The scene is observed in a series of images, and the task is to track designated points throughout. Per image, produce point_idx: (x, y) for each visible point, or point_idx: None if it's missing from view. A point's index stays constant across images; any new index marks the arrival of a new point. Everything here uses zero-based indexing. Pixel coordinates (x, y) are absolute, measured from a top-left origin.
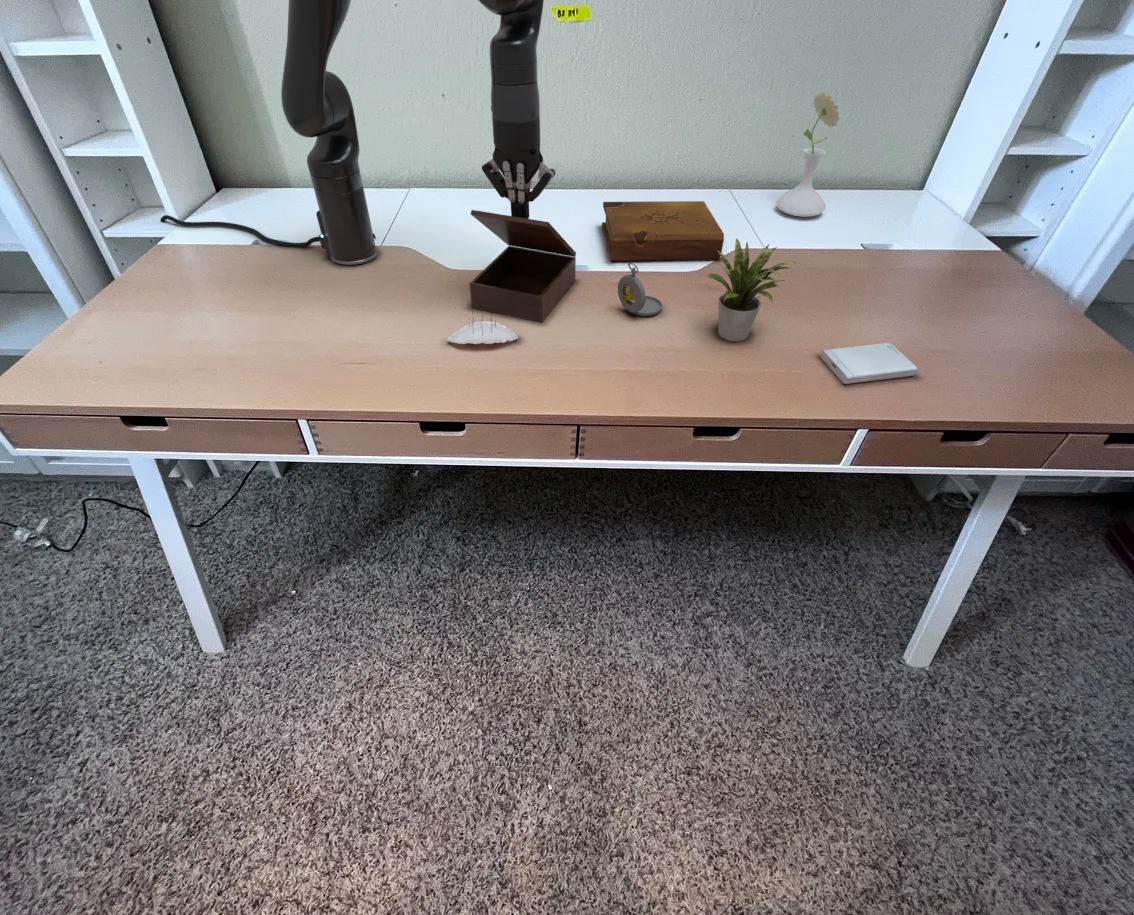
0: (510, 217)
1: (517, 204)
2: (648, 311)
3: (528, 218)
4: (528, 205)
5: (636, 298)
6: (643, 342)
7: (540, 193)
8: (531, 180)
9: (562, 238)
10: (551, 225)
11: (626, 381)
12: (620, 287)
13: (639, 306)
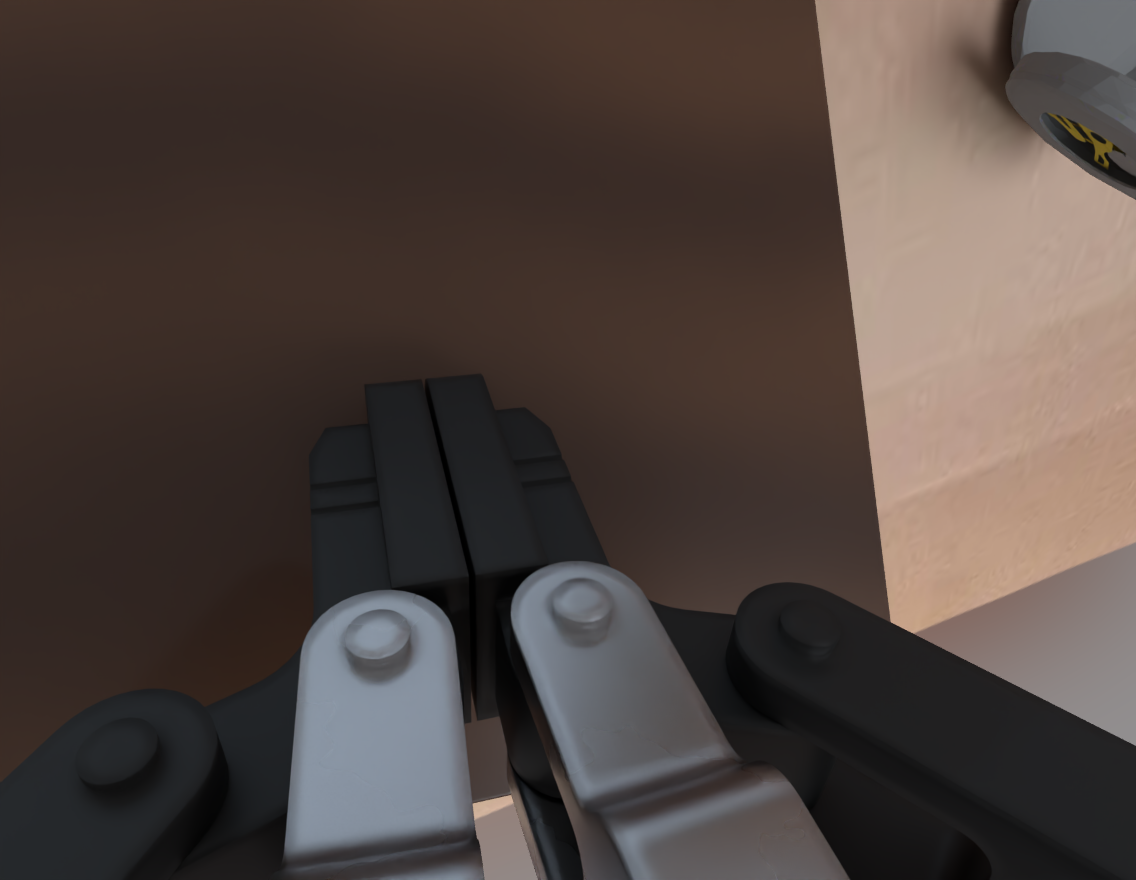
0: (478, 798)
1: (475, 709)
2: (1117, 31)
3: (534, 424)
4: (594, 551)
5: (1125, 187)
6: (1030, 309)
7: (896, 643)
8: (827, 853)
9: (834, 191)
10: (888, 605)
11: (940, 529)
12: (1067, 111)
13: (1108, 184)
